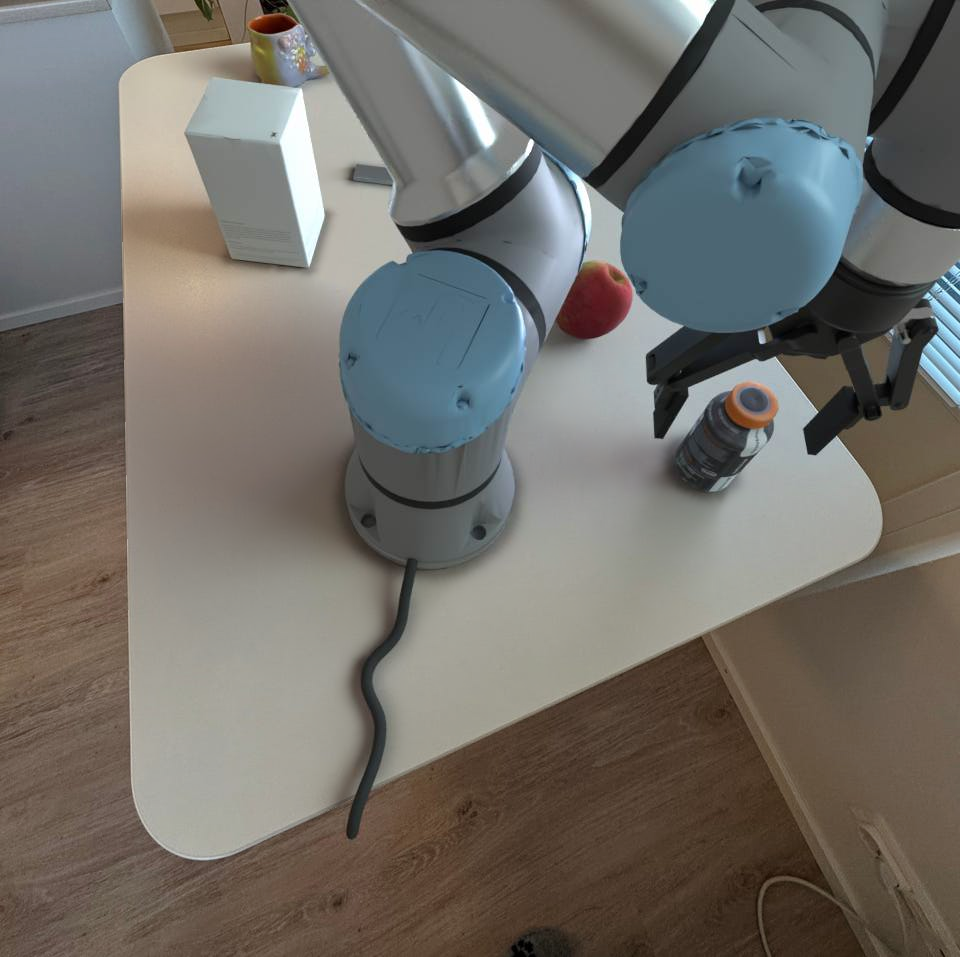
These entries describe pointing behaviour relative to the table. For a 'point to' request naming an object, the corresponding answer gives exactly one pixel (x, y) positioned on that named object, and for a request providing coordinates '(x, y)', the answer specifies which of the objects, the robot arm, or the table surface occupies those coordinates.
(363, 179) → the wooden handled blade
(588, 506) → the table surface
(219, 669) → the table surface
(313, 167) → the rectangular carton
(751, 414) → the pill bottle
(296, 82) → the mug
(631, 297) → the apple
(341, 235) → the table surface
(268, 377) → the table surface
